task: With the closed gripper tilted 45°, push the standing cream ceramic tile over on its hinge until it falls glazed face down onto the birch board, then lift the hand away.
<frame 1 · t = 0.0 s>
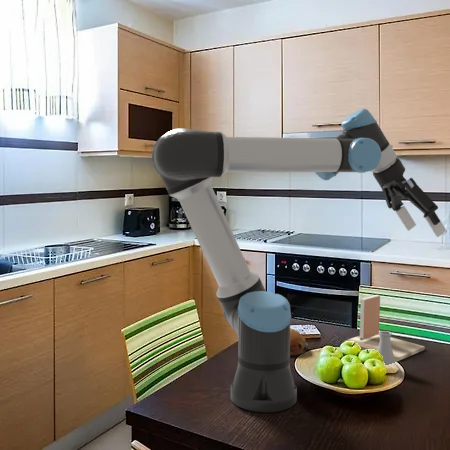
hand: (426, 230, 136), 36 cm above the table, tool tilted 35°, fingers open, 13 cm apart
board: (383, 346, 152), on the table
flask: (384, 370, 134), on the table
tile: (370, 317, 155), point 8 cm above the table, hinge at 0.0°
brown rounded lump: (289, 350, 149), on the table
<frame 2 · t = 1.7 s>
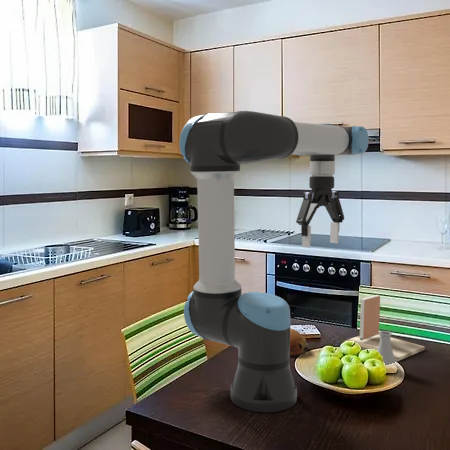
hand: (320, 244, 160), 29 cm above the table, tool pointing down, fingers open, 12 cm apart
nothing on the table moved.
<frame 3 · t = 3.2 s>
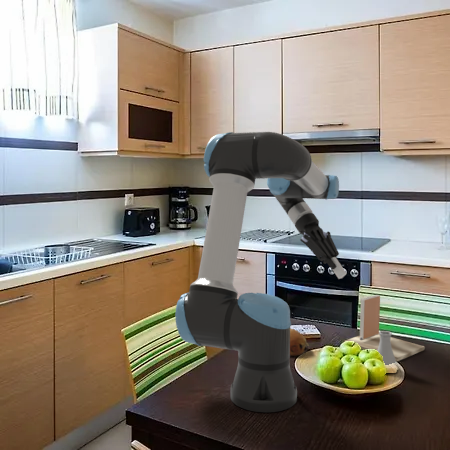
hand: (342, 276, 162), 19 cm above the table, tool tilted 45°, fingers closed
nothing on the table moved.
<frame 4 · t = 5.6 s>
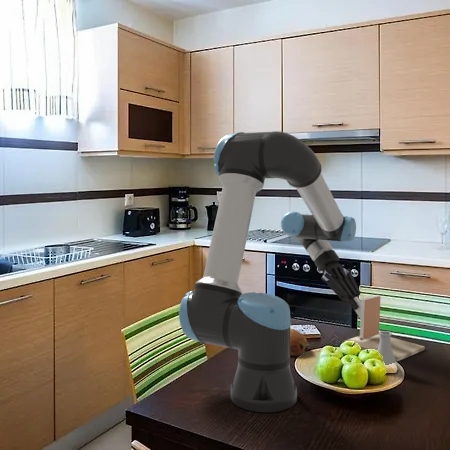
hand: (365, 317, 156), 7 cm above the table, tool tilted 45°, fingers closed
tile: (370, 317, 155), point 8 cm above the table, hinge at 0.6°, touching gripper
everything else where it was.
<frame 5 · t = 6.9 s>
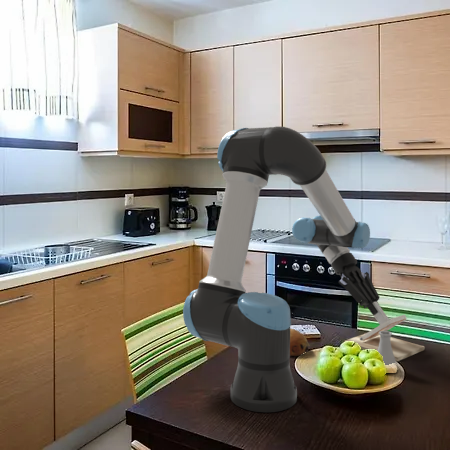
hand: (384, 322, 151), 7 cm above the table, tool tilted 45°, fingers closed
tile: (383, 328, 151), point 6 cm above the table, hinge at 51.5°
everything else where it was.
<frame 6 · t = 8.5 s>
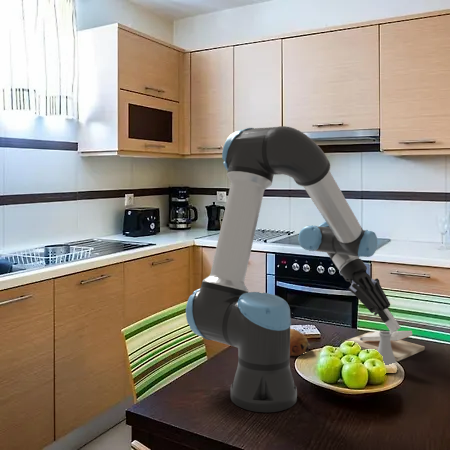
hand: (396, 330, 148), 6 cm above the table, tool tilted 45°, fingers closed
tile: (385, 336, 151), point 3 cm above the table, hinge at 74.9°
everything else where it was.
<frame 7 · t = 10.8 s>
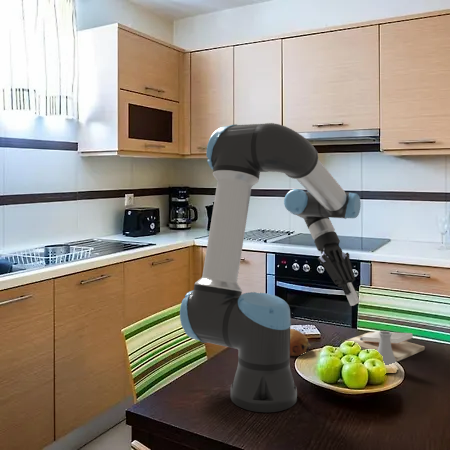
hand: (355, 303, 156), 12 cm above the table, tool tilted 35°, fingers closed
tile: (386, 337, 151), point 3 cm above the table, hinge at 78.6°
everything else where it was.
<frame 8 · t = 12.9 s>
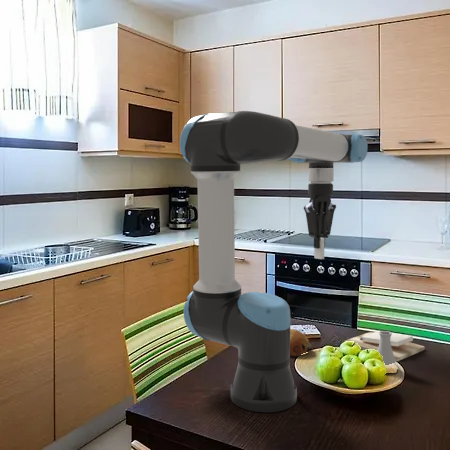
hand: (319, 258, 161), 24 cm above the table, tool pointing down, fingers closed
tile: (386, 338, 151), point 3 cm above the table, hinge at 82.5°
at the end: tile at +82° (first picture: +0°); flask moved 0.3 cm from its start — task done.
